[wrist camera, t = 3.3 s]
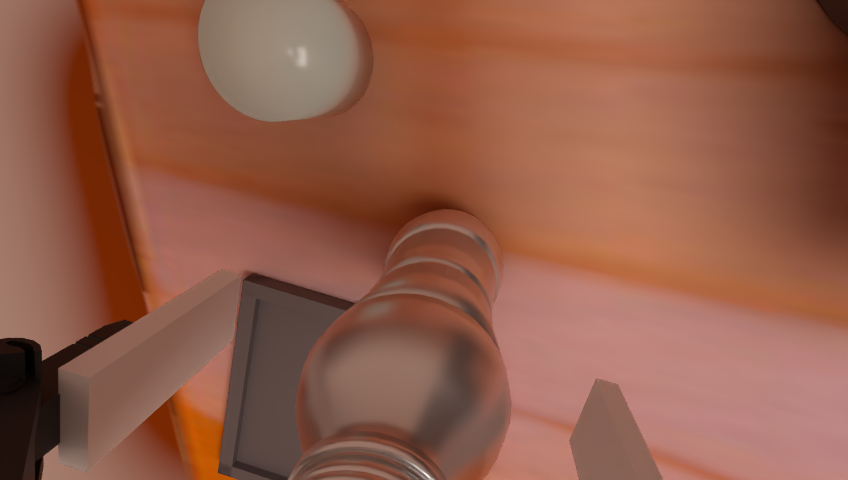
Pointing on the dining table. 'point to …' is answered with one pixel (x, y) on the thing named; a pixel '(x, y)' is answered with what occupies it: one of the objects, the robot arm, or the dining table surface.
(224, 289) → the robot arm
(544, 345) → the dining table surface
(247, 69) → the white rounded cylinder
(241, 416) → the tray
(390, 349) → the plastic bottle
